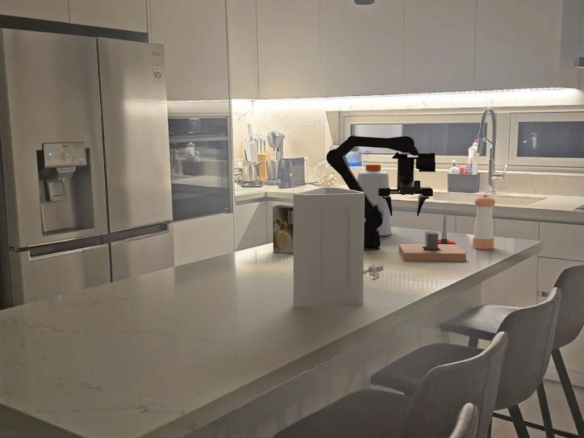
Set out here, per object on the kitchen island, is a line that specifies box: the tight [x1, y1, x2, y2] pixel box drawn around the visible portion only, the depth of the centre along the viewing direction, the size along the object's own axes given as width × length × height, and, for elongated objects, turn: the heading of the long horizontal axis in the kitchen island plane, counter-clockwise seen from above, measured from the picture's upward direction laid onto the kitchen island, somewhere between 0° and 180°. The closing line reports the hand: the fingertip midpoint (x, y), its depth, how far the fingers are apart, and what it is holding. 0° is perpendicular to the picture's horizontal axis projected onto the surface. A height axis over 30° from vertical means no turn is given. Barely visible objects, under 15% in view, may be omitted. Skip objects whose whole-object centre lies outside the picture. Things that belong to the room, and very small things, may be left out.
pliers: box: [363, 263, 384, 281], centre depth 200 cm, size 10×2×15 cm
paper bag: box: [292, 186, 365, 309], centre depth 168 cm, size 19×15×28 cm
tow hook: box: [438, 210, 456, 244], centre depth 246 cm, size 8×13×9 cm
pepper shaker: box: [472, 194, 496, 250], centre depth 238 cm, size 7×7×19 cm
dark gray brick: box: [424, 230, 439, 251], centre depth 224 cm, size 4×5×8 cm
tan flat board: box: [398, 243, 467, 262], centre depth 224 cm, size 20×16×2 cm
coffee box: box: [271, 204, 293, 255], centre depth 231 cm, size 9×6×16 cm
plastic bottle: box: [356, 163, 392, 237], centre depth 267 cm, size 15×15×28 cm
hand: (404, 215), depth 234 cm, fingers open, 9 cm apart
